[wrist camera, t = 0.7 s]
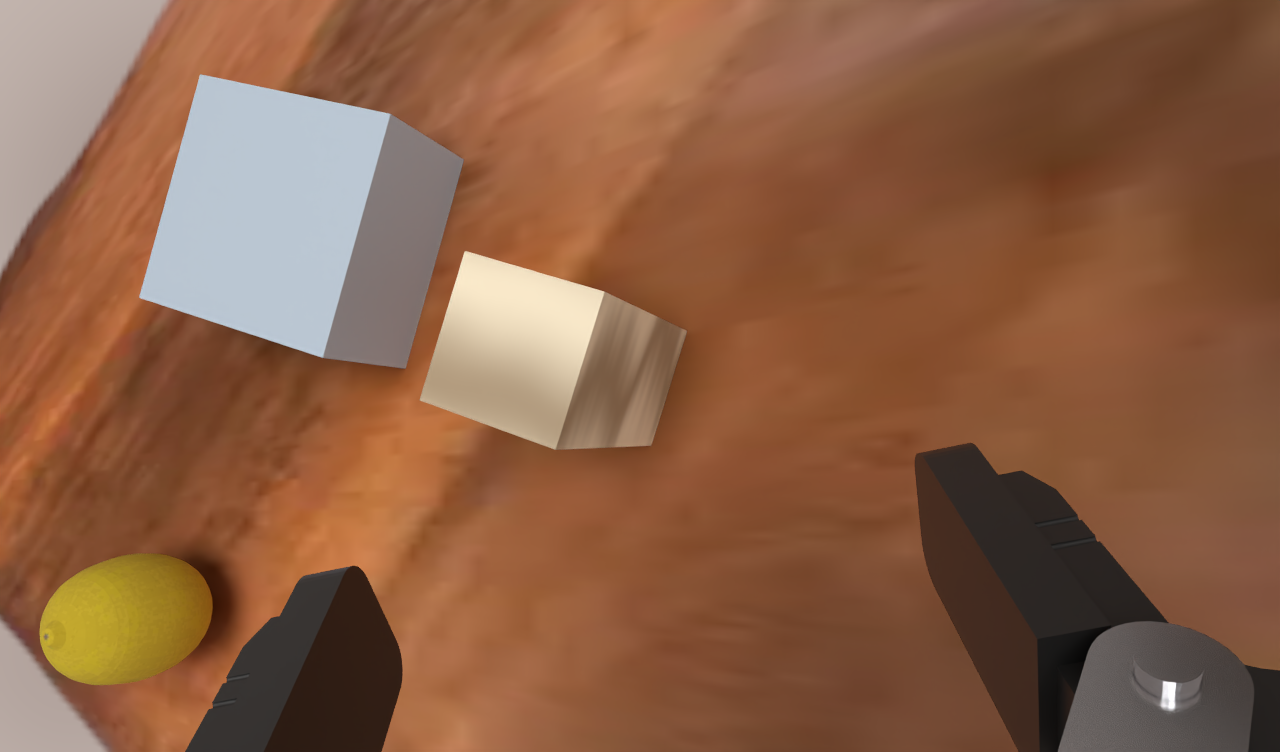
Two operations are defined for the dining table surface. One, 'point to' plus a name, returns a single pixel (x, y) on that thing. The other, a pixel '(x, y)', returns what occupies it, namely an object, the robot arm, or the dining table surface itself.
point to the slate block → (302, 222)
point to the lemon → (126, 619)
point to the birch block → (551, 359)
